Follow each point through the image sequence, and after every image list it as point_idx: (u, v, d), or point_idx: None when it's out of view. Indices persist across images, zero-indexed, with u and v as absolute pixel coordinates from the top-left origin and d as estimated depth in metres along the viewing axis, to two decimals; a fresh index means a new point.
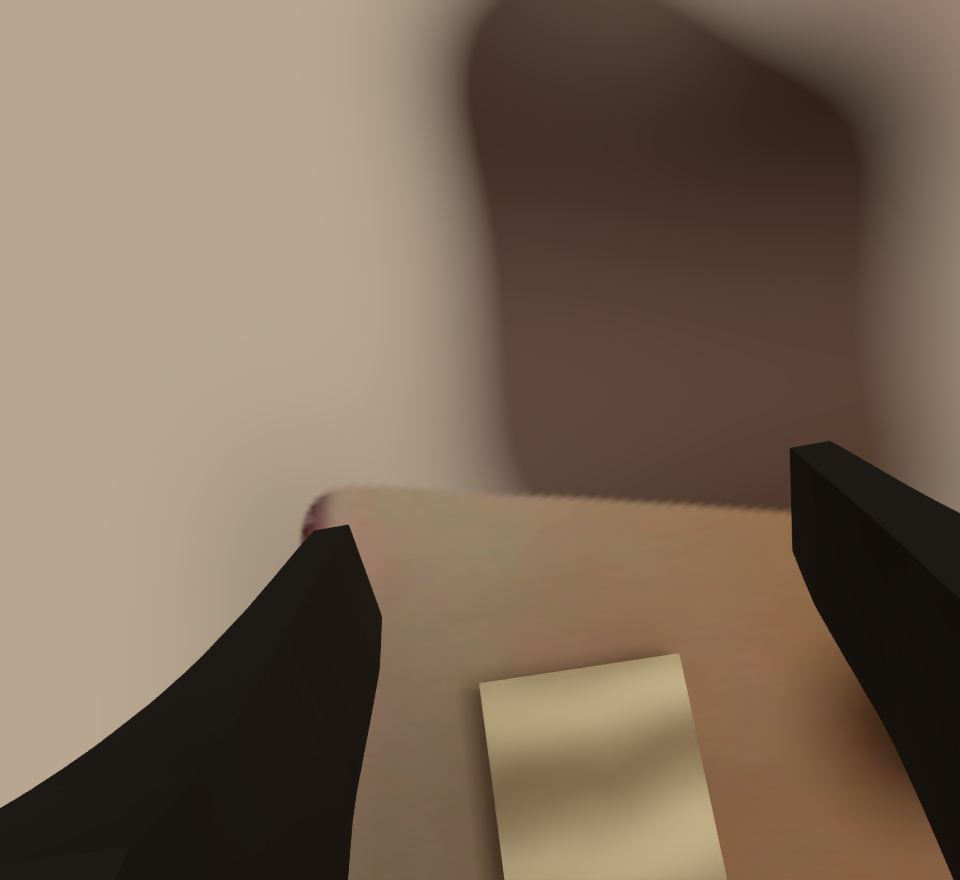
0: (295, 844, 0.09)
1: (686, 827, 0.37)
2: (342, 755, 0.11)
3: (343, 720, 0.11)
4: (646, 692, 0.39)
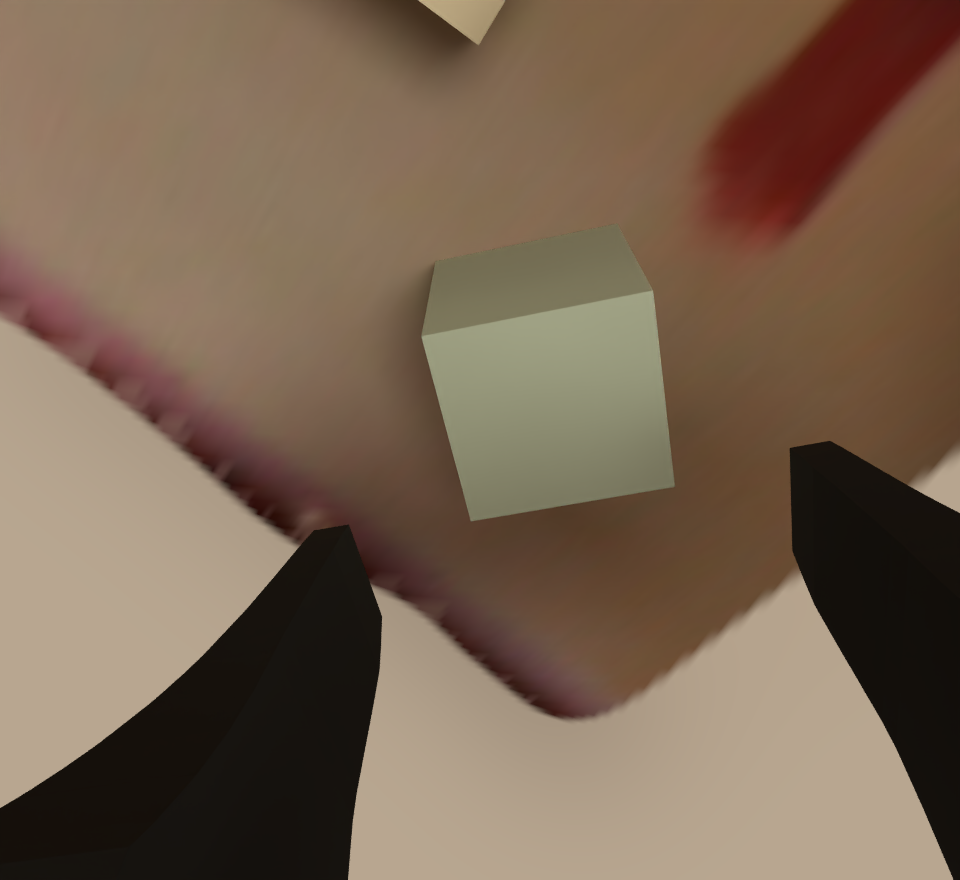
0: (295, 844, 0.09)
1: None
2: (342, 755, 0.11)
3: (343, 720, 0.11)
4: None
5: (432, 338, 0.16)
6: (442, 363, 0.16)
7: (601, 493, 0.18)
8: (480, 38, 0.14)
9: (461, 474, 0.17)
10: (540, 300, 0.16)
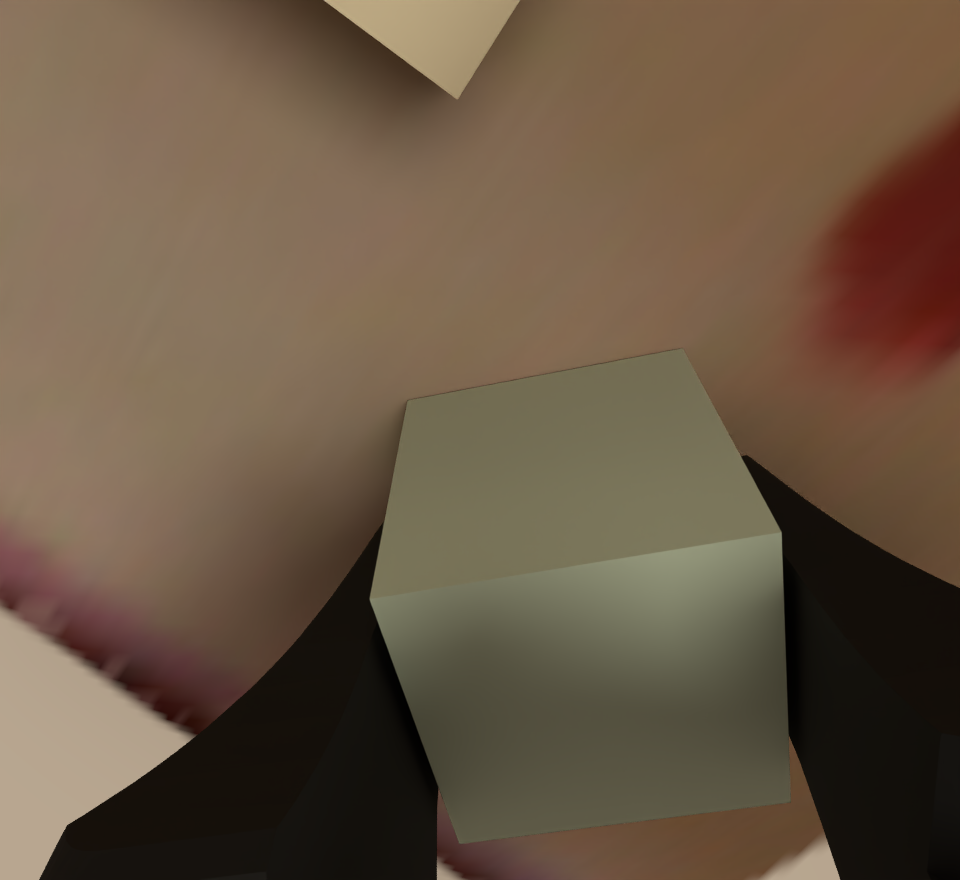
0: (397, 831, 0.09)
1: None
2: None
3: None
4: None
5: (389, 600, 0.09)
6: (408, 638, 0.09)
7: (670, 810, 0.11)
8: (461, 87, 0.08)
9: (443, 785, 0.11)
10: (577, 530, 0.09)
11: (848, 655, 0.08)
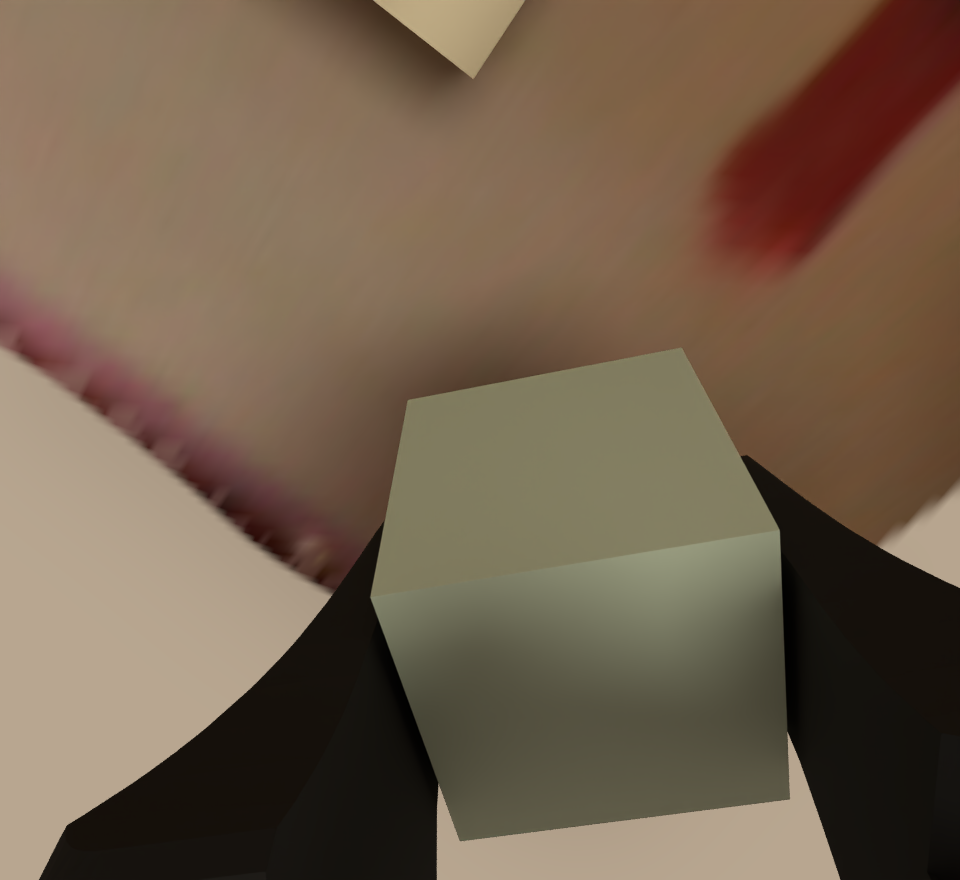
0: (397, 831, 0.09)
1: None
2: None
3: None
4: None
5: (390, 598, 0.09)
6: (407, 635, 0.09)
7: (670, 807, 0.11)
8: (475, 72, 0.14)
9: (443, 782, 0.11)
10: (576, 527, 0.09)
11: (848, 655, 0.08)
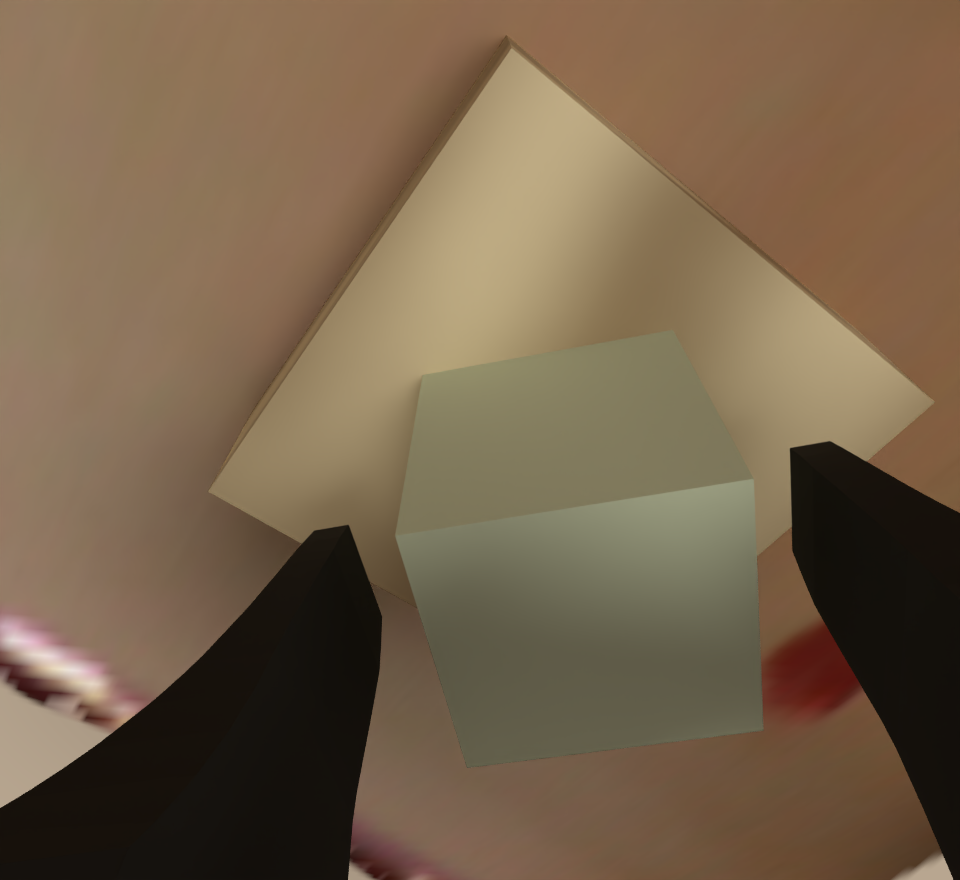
0: (295, 844, 0.09)
1: (793, 383, 0.15)
2: (342, 755, 0.11)
3: (343, 720, 0.11)
4: (516, 215, 0.13)
5: (412, 537, 0.10)
6: (426, 572, 0.11)
7: (656, 737, 0.12)
8: None
9: (454, 711, 0.12)
10: (576, 478, 0.11)
11: None
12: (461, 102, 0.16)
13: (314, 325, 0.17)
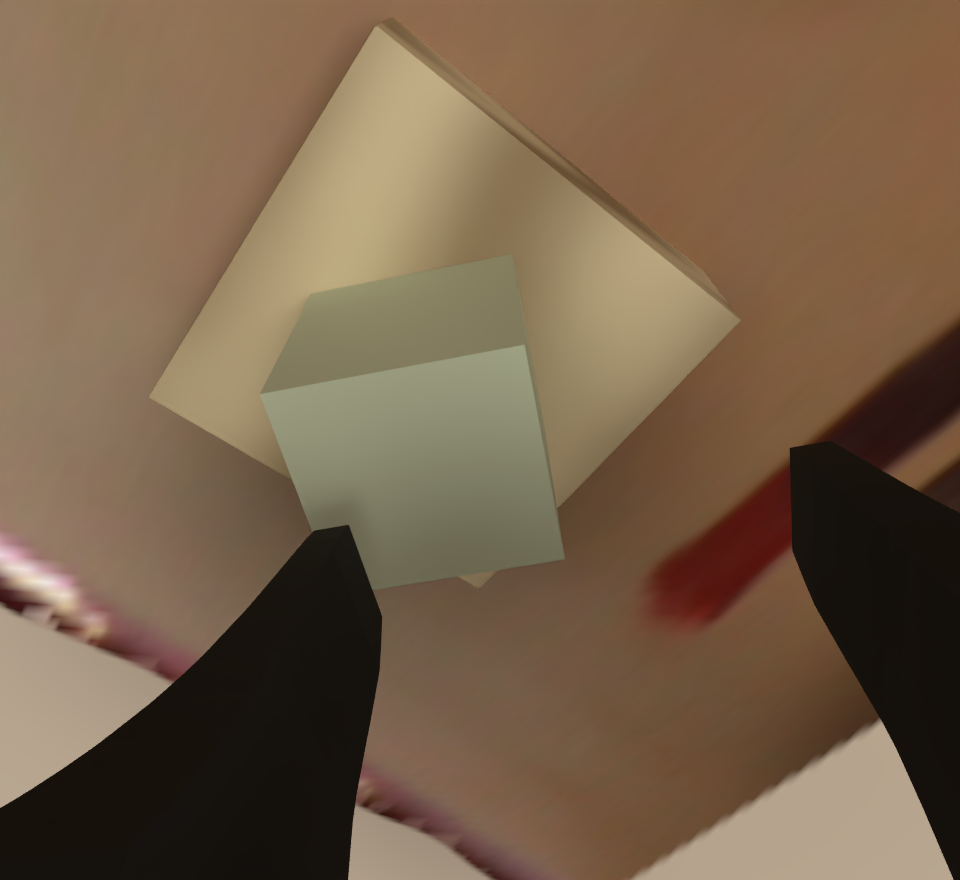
0: (295, 844, 0.09)
1: (625, 303, 0.18)
2: (342, 755, 0.11)
3: (343, 720, 0.11)
4: (388, 161, 0.17)
5: (273, 396, 0.14)
6: (287, 424, 0.14)
7: (482, 566, 0.16)
8: (480, 586, 0.22)
9: None
10: (401, 352, 0.14)
11: None
12: None
13: None
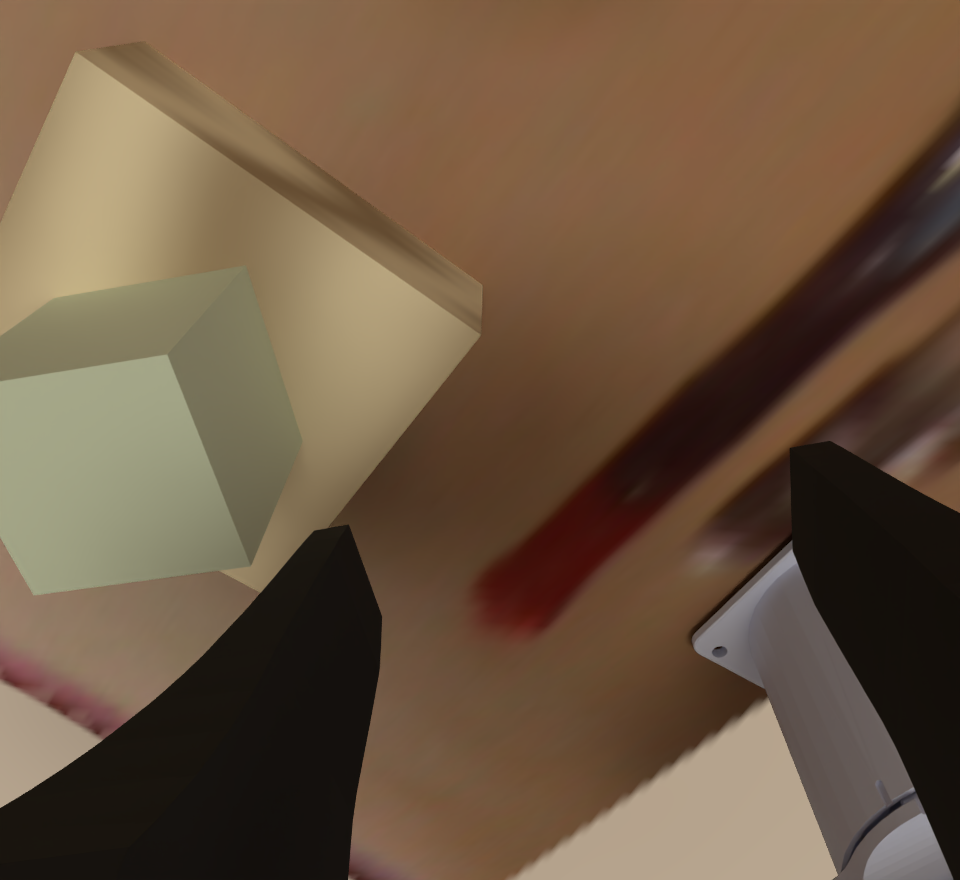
0: (295, 844, 0.09)
1: (365, 319, 0.18)
2: (342, 755, 0.11)
3: (343, 720, 0.11)
4: (110, 181, 0.17)
5: None
6: None
7: (171, 570, 0.16)
8: None
9: (8, 545, 0.16)
10: (65, 358, 0.14)
11: None
12: None
13: None
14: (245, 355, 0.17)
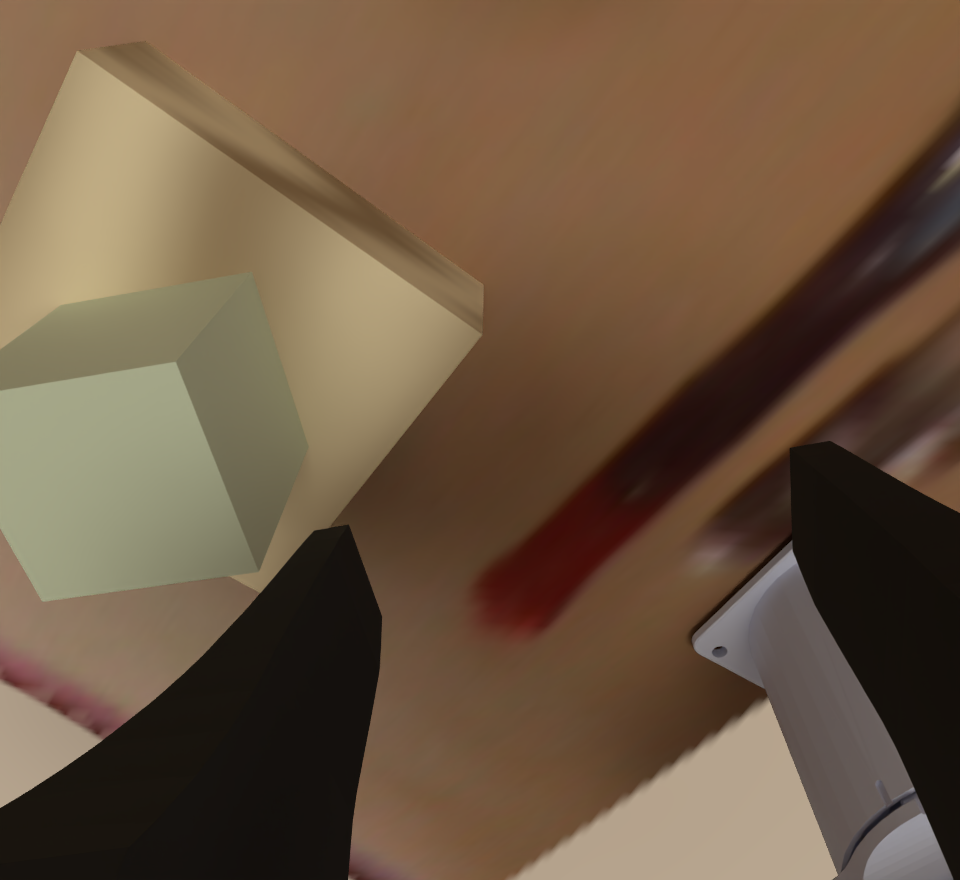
0: (295, 844, 0.09)
1: (365, 318, 0.18)
2: (342, 755, 0.11)
3: (343, 720, 0.11)
4: (112, 181, 0.17)
5: None
6: None
7: (179, 576, 0.16)
8: None
9: (17, 551, 0.16)
10: (74, 366, 0.14)
11: None
12: None
13: None
14: (252, 361, 0.17)
